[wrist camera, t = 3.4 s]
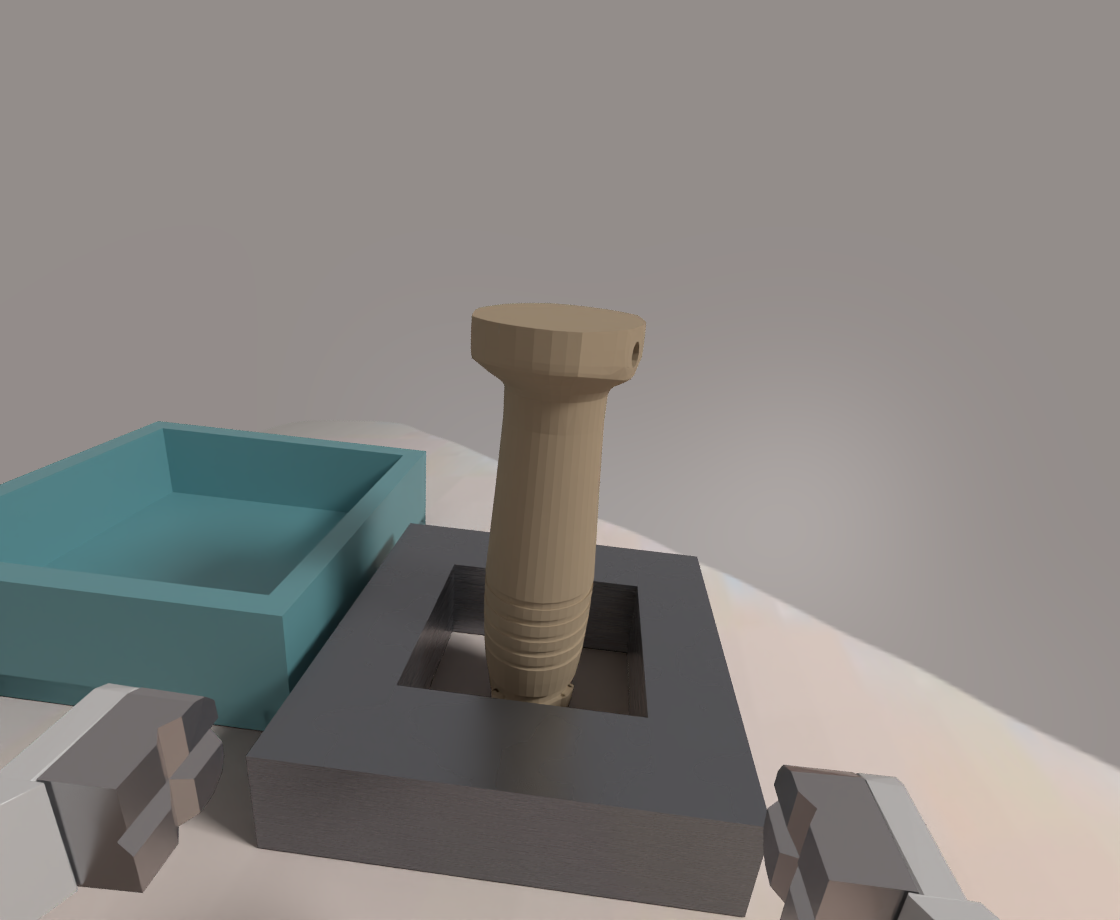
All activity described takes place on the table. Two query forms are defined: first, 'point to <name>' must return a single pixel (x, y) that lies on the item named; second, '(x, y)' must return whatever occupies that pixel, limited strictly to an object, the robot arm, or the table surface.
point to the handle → (547, 484)
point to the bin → (193, 562)
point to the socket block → (520, 743)
